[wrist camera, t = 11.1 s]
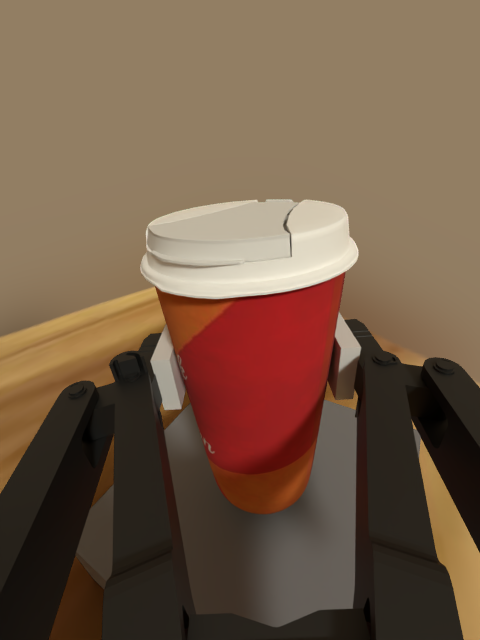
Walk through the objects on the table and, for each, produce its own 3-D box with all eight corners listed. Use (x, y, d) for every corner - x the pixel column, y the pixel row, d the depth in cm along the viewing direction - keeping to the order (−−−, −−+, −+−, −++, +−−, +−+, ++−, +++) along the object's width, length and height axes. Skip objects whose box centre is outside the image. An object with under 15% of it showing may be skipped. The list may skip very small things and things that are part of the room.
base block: (92, 577, 18) (62, 538, 16) (229, 405, 30) (224, 366, 27) (362, 845, 11) (386, 851, 8) (405, 475, 22) (421, 431, 20)
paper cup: (237, 399, 22) (214, 196, 15) (344, 438, 18) (380, 195, 11) (166, 495, 16) (73, 237, 9) (301, 579, 12) (321, 260, 6)
